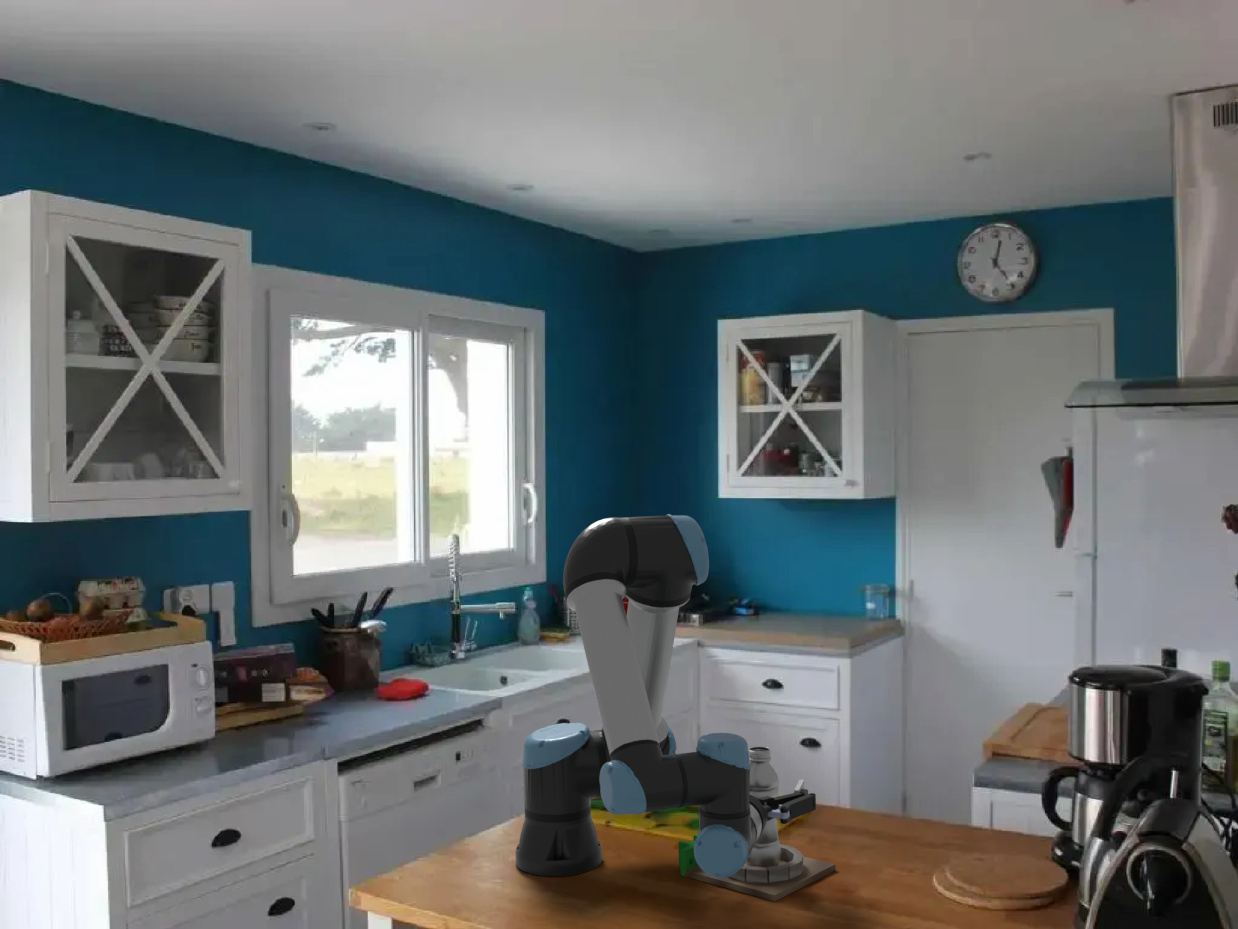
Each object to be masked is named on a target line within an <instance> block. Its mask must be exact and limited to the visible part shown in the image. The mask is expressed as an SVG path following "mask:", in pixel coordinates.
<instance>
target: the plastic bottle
mask: <svg viewBox="0 0 1238 929" xmlns="http://www.w3.org/2000/svg"><path fill="white" fill-rule="evenodd" d="M748 751H749V762H750V795H752V796H754V797H756V798H761V797H765V796H769V797H772V798H775V797H779V796H778V795H779V786H780V779H779V776H778V773H777V772H776V770H775V769H774V768H773V766H772V765H771V763H770V761H771V760H772V757H771V749H770V747H768V746H767V747H766V746H751V747H750V748H749V747H748ZM765 804H766V802H765ZM777 819H778V818H773V819H771V820H769V821H767V822H766V825H765V827H764V829H763V831H762V833H761V835H760V836H759V838H758V840H757V841H756V843H755V845H754V846H753V849H752V851H751V853H750V855H749V857H748V859H747V861H746V864H747V866H752V867H771V866H777V865H778V864H779V862H780V859H781V847H780V844H781V843H780V839H779V832H778V831H779V830H778V829H779V828H778V821H777Z"/></svg>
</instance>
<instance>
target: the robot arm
mask: <svg viewBox="0 0 1238 929" xmlns="http://www.w3.org/2000/svg"><path fill="white" fill-rule="evenodd" d="M709 558H710V557H709V551H708V545H707V542H706V538H705V535H704V532H703V530H702V528H701V526H700V525H699V523H698V522H697V520H695V519H694V518H693V517H691V516H689V515H675V514H674V515H672V514H670V513H668V514H666V515H651V516H649V515H648V516H631V517H630V516H629V517H628V516H627V517H607V518H602V519H600V520H599V519H598V520H597V521H595V522H593V523H591V524H590V525H589V526H587V527H586V528H585V529H583V530H582V531H581V533H580V534H579V535H577V537H576V539H575V540H574V542H572V545H571V546H570V549H569V551H568V554H567V557H566V559H565V563H564V568H563V574H562V575H563V576H562V577H563V578H562V582H563V584H562V585H563V591H564V597H565V600H566V604H567V607H568V608H569V609H570V610H571V611H573V612H575V615H576V620H577V623H578V628H579V632H580V637H581V641H582V645H583V649H584V654H585V658H586V661H587V665H588V671H589V675H590V678H591V683H592V687H593V691H594V695H595V700H596V703H597V707H598V712H599V716H600V720H601V721H600V722H601V724H602V728H601V729H596V730H590V729H589V726H588V725H587V724H585V723H581V722H569V723H568V722H562V723H556V724H551V725H548V726H544V727H541V728H539V729H536V730H534V731H532V732H531V733H530V734H529V735H527V737H526V738H525V740H524V742H523V752H522V754H523V755H522V763H521V764H522V767H523V769H522V770H523V789H524V790H523V793H524V794H523V799H524V801H523V802H524V821H523V824H522V827H521V832H520V836H519V843H518V844H517V846H516V848H515V866H516V867H517V868H518V869H519V870H521V871H522V872H525V873H529V874H532V875H536V876H545V877H546V876H547V877H562V876H563V877H564V876H565V877H566V876H571V875H572V876H573V875H578V874H582V873H586V872H589V871H591V870H594V869H595V868H597V867H599V865H601V863H602V861H603V847H602V843H601V842H600V841H599V839H598V838H599V837H598V835H597V834H598V833H597V831H596V826H595V824H594V820H593V818H592V809H591V808H592V803H591V802H592V800H593V799H601V801H602V803H603V806H604V807H605V809H606V810H607V812H608V813H610V814H612V815H616V816H618V815H619V816H620V815H621V816H622V815H623V816H624V815H642V814H644V813H650V812H657V811H663V810H671V809H679V808H681V809H682V808H687V807H688V808H689V807H695V806H697V807H698V813H699V814H698V818H699V821H698V822H699V824H698V826H699V833H698V835H697V839H696V840H695V845H694V856H695V859H696V862H697V864H698V865H699V867H700V868H701V869H702V870H703V871H704V872H705V873H707V874H708V875H710V876H713V877H716V878H726V877H730V876H732V875H734V874H735V873H737V872H738V871H739V870H740V868H742V867H743V866H744V864H746V861H747V859H748V857H749V855H750V853H751V851H752V849H753V846H754V845H755V843H756V841H757V840H758V838H759V836H760V835H761V833H762V831H763V829H764V827H765V825H766V822H767V821H769V820H771V819H773V818H777V819H778V821H780V824H782V825H786V824H789V822H791V821H792V820H794V819H796V818H800V817H801V816H803V815H807V814H808V813H811V812H814V811H816V809H817V798H816V797H817V795H816V793H815V792H810V793H809V790H808V789H805V779H799V780H798V782H797V784H796V786H795V787H794V790H793V792H792V793H788V794H782V795H780V796H778V797H775V798H772V797H769V796H765V797H761V798H756V797H754V796H752V795H750V761H749V745H748V742H747V740H746V739H745V738H744V737H743V736H741V735H739V734H737V733H731V732H730V733H729V732H714V733H711V732H710V733H708V734H704V735H702V736H700V737H698V740H697V746H696V747H695V750H696V751H691V752H682V753H676V751H677V741H676V738H675V735H674V732H673V730H672V728H670V726H669V725H668V722H667V721H666V719H665V718H664V717H663V711H664V705H665V698H666V692H667V685H668V680H669V675H670V674H669V673H670V667H671V660H672V656H673V648H674V642H675V638H676V637H675V635H676V630H677V623H678V616H679V612H680V608H682V607H683V606H684V605H686V604H687V603H688V602H689V601H690V599H691V593H692V588H693V585H694V586H700V585H701V584H704V583H705V582H706V581H707V578H708V576H709V573H710V572H709V569H710V559H709ZM625 597H626V598H627V600H628V603H627V611H626V610H625V605H624V601H623V599H624V598H625ZM765 802H766V804H765Z"/></svg>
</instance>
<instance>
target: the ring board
mask: <svg viewBox="0 0 1238 929" xmlns="http://www.w3.org/2000/svg"><path fill="white" fill-rule="evenodd" d="M780 847H781V859H780V862H779V864H778V865H777V866H771V867H752V866H747V864H744V866H743V867H742V868H740V870H739V871H738V872H737V873H735V874H734V875H732V876H730V877H726V878H716V877H713V876H710V875H708V874H707V873H705V872H704V871H703V870H702V869H701V868H700V867H699V865H697V866H695V867H693V868H690V869H688V870H686V876H685V877H687V878H689V879H693V880H697V881H700V882H704V883H707V884H711V885H715V886H718V887H721V888H726V889H729V890H733V891H737V892H740V893H743V894H747V895H752V896H754V897H758V898H761V899H764V900H768V901H771V902H777V901H778V900H780V899H783V898H784V897H786V896H788V895H790V894H792V893H794V892H797V890H800V889H801V888H803V887H806V886H807V885H810V884H811V883H813V882H815V881H817V880H819V879H821V878H823V877H825V876H827V875H828V874H830V873H833V872H834V871H836V864H835V863H832V862H829V861H823V860H820V859H815V858H812V857H808V856H804V853H802V852H801V851H800V850H798V849H797V848H796V847H793V846H791V845H786V844H781V843H780Z"/></svg>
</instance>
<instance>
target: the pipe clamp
mask: <svg viewBox="0 0 1238 929" xmlns="http://www.w3.org/2000/svg"><path fill="white" fill-rule="evenodd" d="M698 834H699V833H698ZM698 834H697V833H696V834H695V833H694V834H693V840H690V841H689V840H688V841H685V840H679V841H678V843H677V844H678V868H679V869H680V876H681V877H686V870H688V869H690V868H693V867H695V866H697V865H698V864H697V862H696V859H695V856H694V845H695V840H696V839H697V835H698Z"/></svg>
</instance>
